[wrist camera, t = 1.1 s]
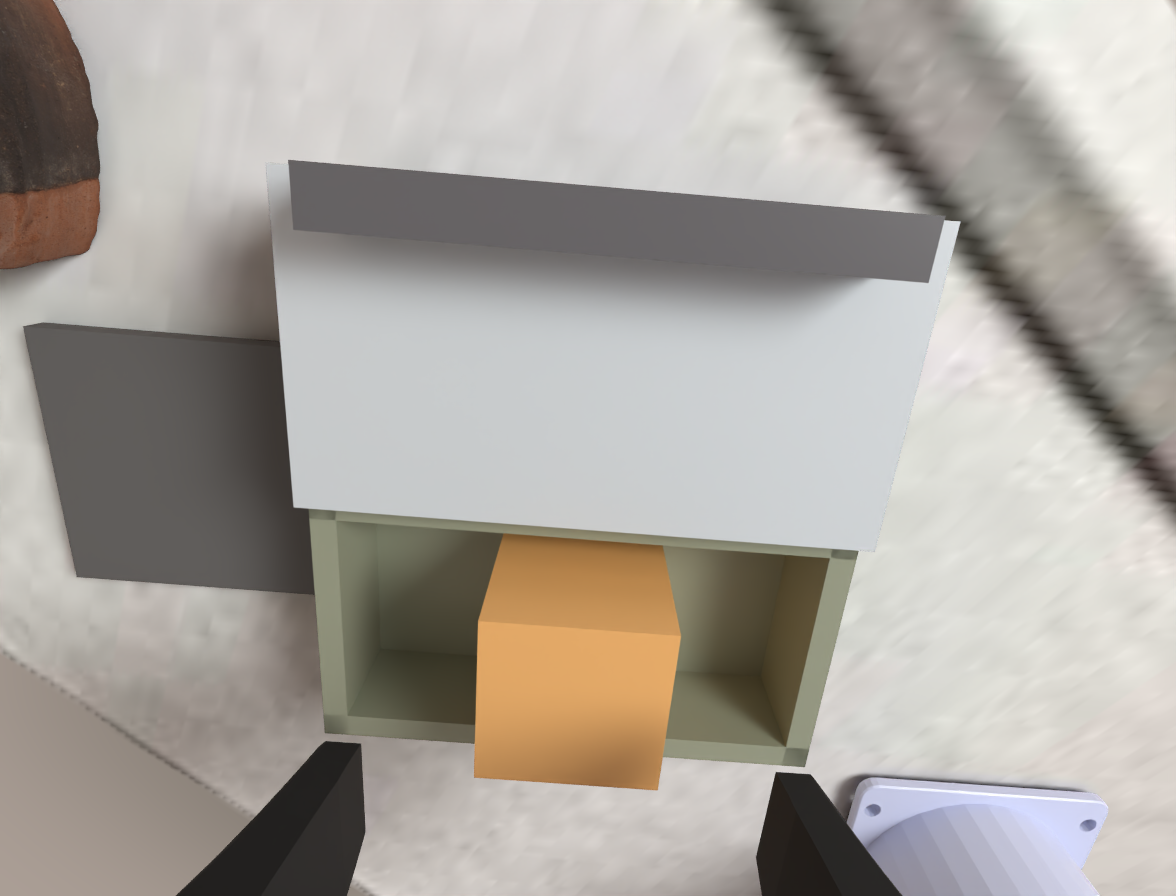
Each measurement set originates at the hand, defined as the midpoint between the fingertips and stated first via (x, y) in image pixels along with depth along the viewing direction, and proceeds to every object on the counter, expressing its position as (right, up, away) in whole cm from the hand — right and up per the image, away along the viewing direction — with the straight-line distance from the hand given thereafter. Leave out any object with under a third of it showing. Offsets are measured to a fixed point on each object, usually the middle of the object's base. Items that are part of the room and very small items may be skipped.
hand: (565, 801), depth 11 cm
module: (0, +2, +7) cm, 7 cm away
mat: (-10, +6, +6) cm, 13 cm away
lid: (+1, +8, +2) cm, 8 cm away
